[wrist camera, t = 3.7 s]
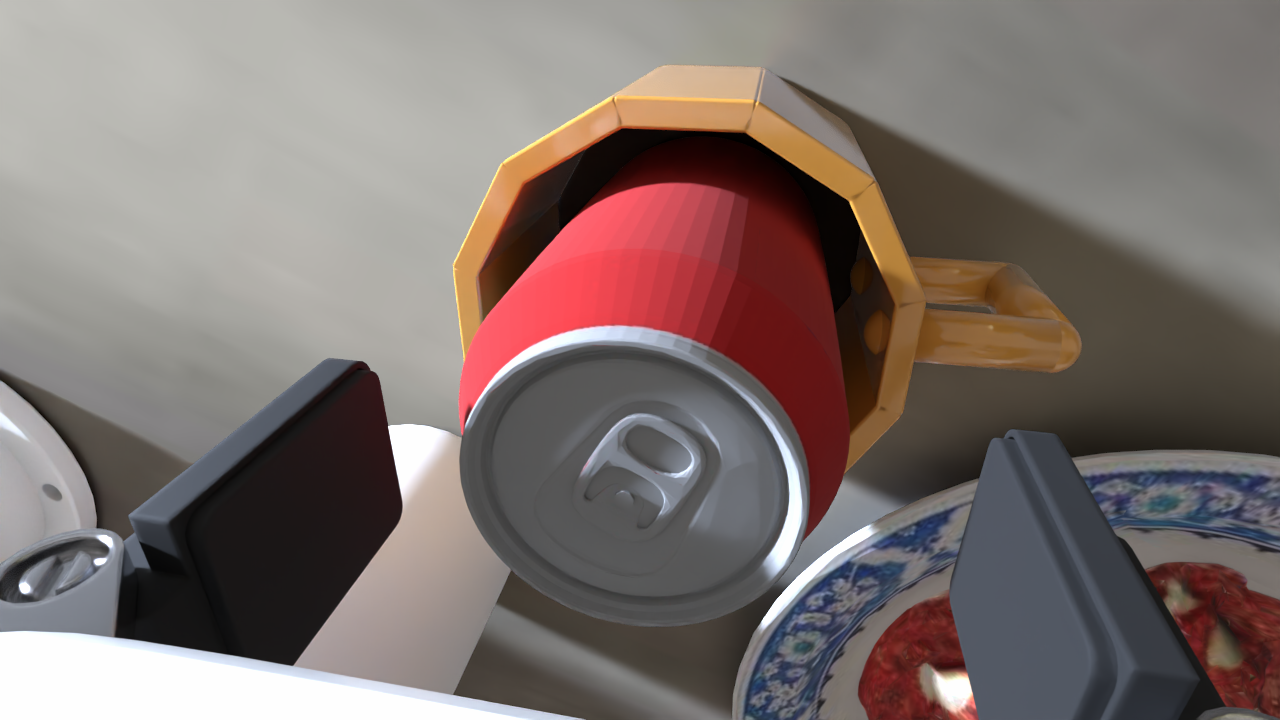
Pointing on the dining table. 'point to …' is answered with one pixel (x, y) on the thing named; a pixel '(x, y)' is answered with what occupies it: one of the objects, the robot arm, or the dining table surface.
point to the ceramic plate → (923, 620)
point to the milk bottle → (417, 580)
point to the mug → (827, 151)
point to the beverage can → (661, 393)
